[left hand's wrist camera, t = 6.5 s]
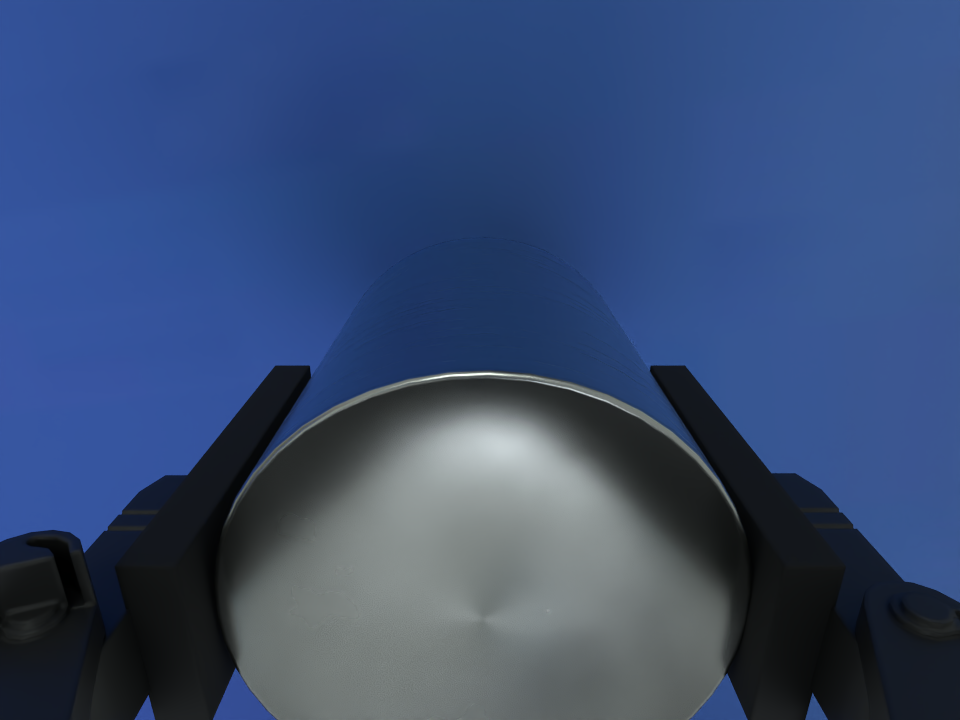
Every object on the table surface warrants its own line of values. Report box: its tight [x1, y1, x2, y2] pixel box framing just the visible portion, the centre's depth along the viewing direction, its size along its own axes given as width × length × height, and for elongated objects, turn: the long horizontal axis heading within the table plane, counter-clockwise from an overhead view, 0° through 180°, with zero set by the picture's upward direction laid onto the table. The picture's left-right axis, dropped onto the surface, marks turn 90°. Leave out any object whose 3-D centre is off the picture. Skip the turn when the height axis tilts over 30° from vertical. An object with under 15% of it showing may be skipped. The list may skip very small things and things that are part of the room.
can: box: [214, 237, 752, 720], centre depth 13 cm, size 8×8×8 cm
